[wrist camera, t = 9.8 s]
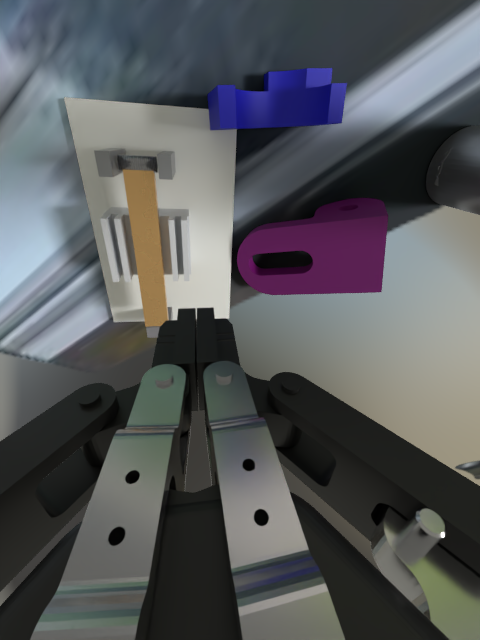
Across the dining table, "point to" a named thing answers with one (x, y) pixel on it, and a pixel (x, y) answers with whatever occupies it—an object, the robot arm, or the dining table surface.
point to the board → (160, 200)
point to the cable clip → (279, 101)
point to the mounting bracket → (322, 250)
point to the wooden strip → (146, 233)
